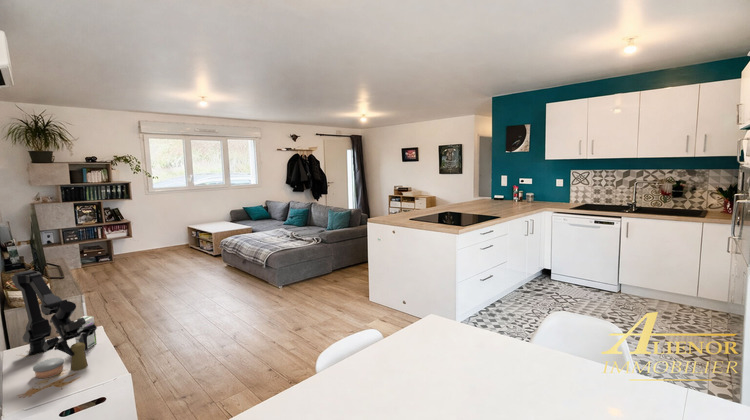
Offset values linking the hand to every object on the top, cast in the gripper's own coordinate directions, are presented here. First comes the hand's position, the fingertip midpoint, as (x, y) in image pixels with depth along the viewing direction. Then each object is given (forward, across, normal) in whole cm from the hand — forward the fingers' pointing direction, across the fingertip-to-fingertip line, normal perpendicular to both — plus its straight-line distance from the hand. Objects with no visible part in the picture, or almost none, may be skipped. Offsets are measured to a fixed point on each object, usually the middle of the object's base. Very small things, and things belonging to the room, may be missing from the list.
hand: (79, 352), depth 161 cm
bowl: (0, -8, +10) cm, 13 cm away
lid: (-3, -8, +8) cm, 12 cm away
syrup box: (-9, +13, +19) cm, 25 cm away
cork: (+4, 0, +6) cm, 7 cm away
